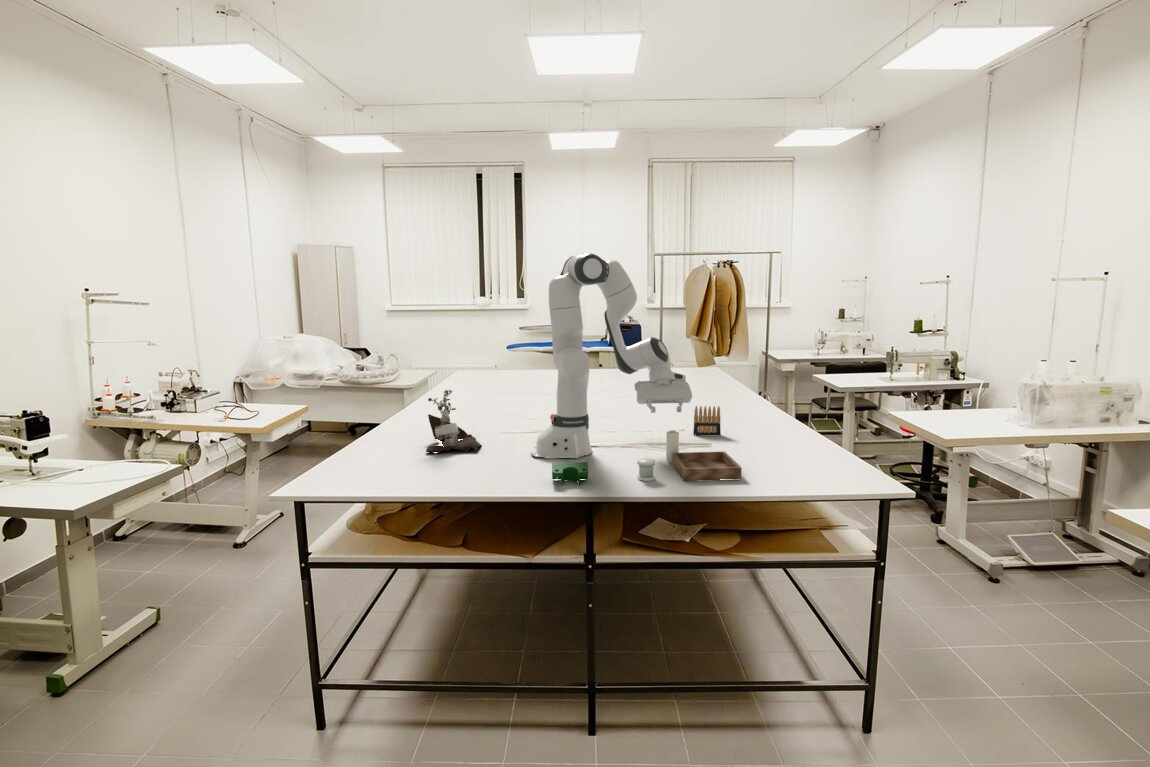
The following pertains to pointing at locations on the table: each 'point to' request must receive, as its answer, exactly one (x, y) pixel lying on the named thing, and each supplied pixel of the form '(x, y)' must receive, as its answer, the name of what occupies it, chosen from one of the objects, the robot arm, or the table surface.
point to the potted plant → (449, 430)
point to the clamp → (570, 471)
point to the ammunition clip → (707, 422)
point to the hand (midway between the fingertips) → (666, 411)
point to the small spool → (646, 469)
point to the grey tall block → (672, 444)
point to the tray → (705, 466)
